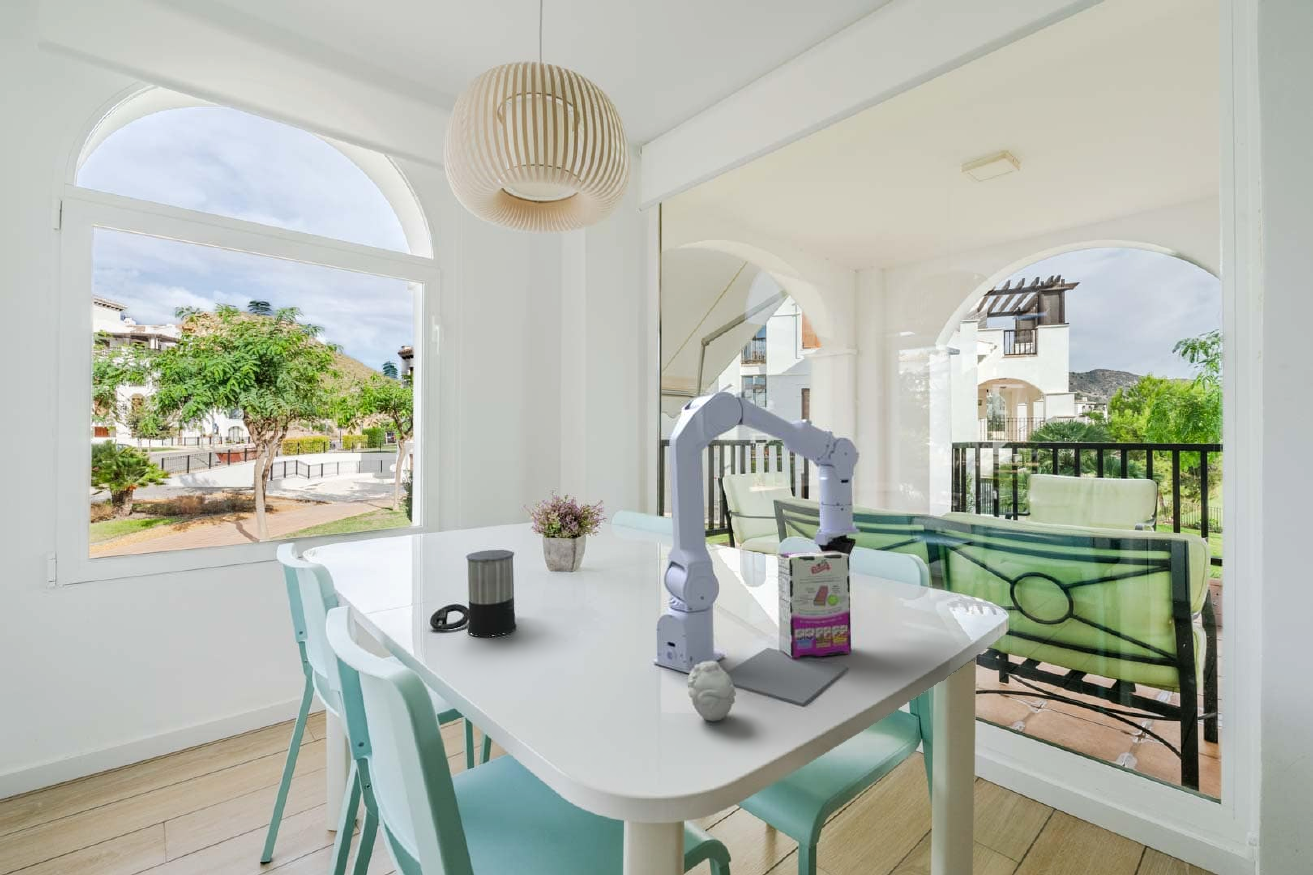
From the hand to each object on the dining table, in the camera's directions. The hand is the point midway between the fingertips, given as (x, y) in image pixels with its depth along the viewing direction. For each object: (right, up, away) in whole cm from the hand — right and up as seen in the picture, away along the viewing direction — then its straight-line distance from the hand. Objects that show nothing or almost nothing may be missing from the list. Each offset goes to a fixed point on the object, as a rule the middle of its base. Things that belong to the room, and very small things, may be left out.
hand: (837, 578), depth 107 cm
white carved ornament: (-26, -11, -30) cm, 41 cm away
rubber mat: (-13, -11, -17) cm, 24 cm away
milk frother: (-69, -12, +9) cm, 70 cm away
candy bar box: (-6, -11, -8) cm, 15 cm away
